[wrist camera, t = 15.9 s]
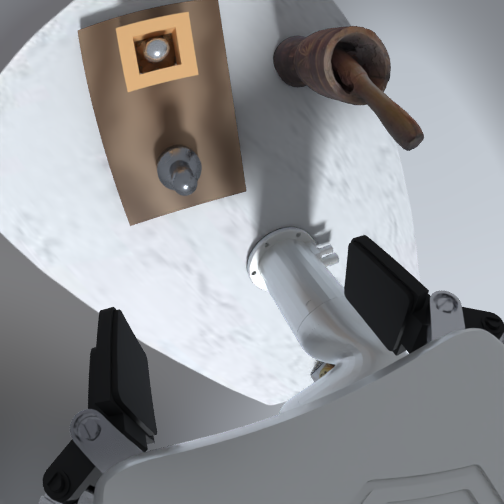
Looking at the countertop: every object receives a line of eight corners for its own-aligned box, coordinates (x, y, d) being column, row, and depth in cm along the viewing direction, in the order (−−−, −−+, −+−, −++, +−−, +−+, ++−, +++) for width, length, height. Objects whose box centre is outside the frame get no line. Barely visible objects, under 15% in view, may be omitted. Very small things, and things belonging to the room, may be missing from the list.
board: (213, 1, 25) (217, -3, 24) (241, 186, 41) (246, 191, 39) (81, 32, 22) (77, 30, 21) (130, 218, 38) (130, 225, 36)
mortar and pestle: (345, 86, 37) (457, 116, 22) (304, 120, 38) (410, 165, 23) (303, 23, 30) (419, 11, 15) (255, 56, 31) (357, 51, 16)
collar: (183, 19, 23) (188, 11, 20) (192, 75, 27) (198, 74, 24) (119, 34, 22) (115, 28, 18) (129, 90, 26) (127, 92, 23)
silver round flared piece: (174, 29, 25) (182, 17, 19) (181, 70, 28) (190, 67, 22) (128, 40, 24) (124, 30, 18) (135, 81, 27) (133, 81, 21)
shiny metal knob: (194, 139, 33) (205, 154, 28) (202, 178, 36) (215, 200, 31) (152, 151, 32) (154, 168, 27) (162, 190, 35) (167, 214, 30)
